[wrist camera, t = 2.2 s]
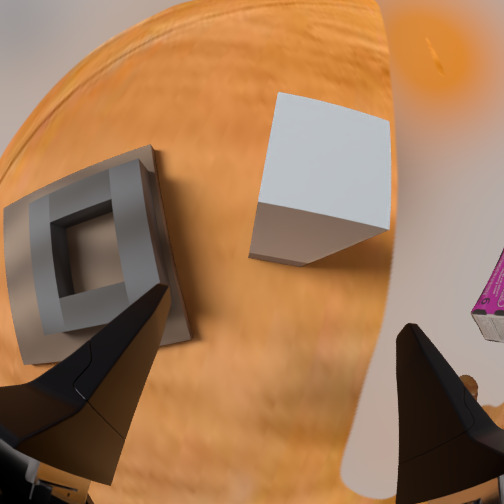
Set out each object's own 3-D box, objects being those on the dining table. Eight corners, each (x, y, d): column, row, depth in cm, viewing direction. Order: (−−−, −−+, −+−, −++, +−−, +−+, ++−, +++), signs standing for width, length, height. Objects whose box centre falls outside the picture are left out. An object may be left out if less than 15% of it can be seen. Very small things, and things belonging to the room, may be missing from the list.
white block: (300, 267, 22) (389, 229, 8) (248, 257, 22) (257, 201, 8) (307, 217, 22) (389, 121, 8) (257, 207, 22) (278, 91, 8)
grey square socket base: (193, 337, 21) (184, 345, 17) (29, 363, 20) (8, 369, 16) (153, 149, 23) (141, 129, 19) (9, 210, 21) (-12, 202, 18)
